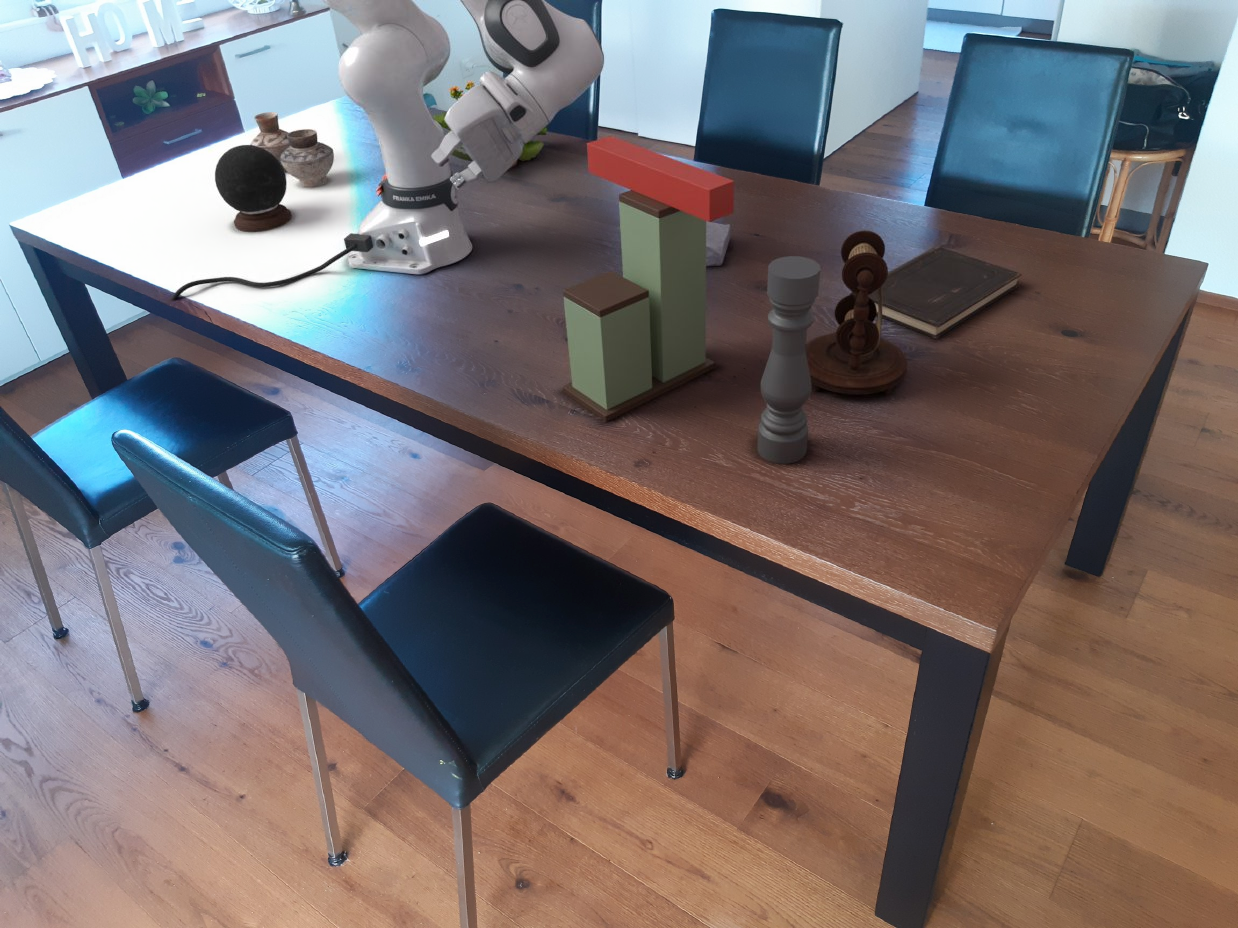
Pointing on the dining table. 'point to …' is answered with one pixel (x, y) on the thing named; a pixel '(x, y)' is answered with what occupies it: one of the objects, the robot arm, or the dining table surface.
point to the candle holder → (787, 359)
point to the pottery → (295, 150)
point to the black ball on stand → (253, 187)
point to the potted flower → (527, 153)
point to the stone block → (716, 243)
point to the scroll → (858, 328)
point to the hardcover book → (941, 290)
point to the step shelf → (640, 312)
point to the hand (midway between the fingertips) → (444, 174)
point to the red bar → (662, 178)
